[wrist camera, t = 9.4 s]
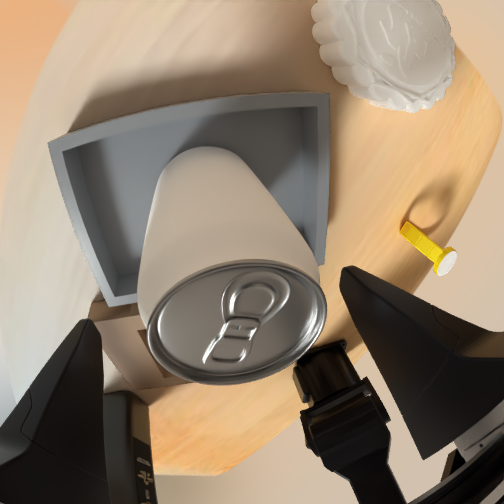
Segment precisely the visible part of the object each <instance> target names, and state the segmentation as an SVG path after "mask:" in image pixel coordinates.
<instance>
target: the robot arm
mask: <svg viewBox="0 0 504 504" xmlns="http://www.w3.org/2000/svg"><path fill="white" fill-rule="evenodd" d="M339 288H340V292H341V294H342V296H343V299H344V301H345V303H346V306H347V308H348V310H349V313H350V315H351V317H352V320H353V322H354V324H355V326H356V328H357V330H358V332H359V334H360V335H361V337H362V339H363V341H364V343H365V345H366V346H367V348H368V350H369V352H370V354H371V356H372V358H373V359H374V361H375V363H376V365H377V367H378V369H379V371H380V373H381V375H382V376H383V378H384V380H385V382H386V384H387V386H388V388H389V390H390V392H391V394H392V396H393V398H394V400H395V402H396V404H397V406H398V408H399V410H400V412H401V414H402V415H403V419H404V421H405V423H406V425H407V427H408V429H409V431H410V434H411V436H412V438H413V440H414V442H415V444H416V447H417V449H418V451H419V453H420V455H421V458H422V459H423V460H425V459H427V458H428V457H430V456H431V455H433V454H435V453H436V452H438V451H439V450H440V449H442V448H444V447H445V446H447V445H448V444H449V443H451V442H452V441H454V443H455V445H456V447H457V448H456V449H455V450H454V451H452V452H451V453H449V454H448V457H447V461H446V465H445V468H444V471H443V475H442V478H441V482H440V483H439V484H438V485H436V486H435V487H433V488H432V489H430V490H429V491H427V492H426V493H424V494H423V495H421V496H420V497H418V498H416V499H414V500H413V501H411V502H410V503H408V504H504V332H493V331H488V330H486V329H484V328H481V327H479V326H476V325H474V324H472V323H470V322H467V321H465V320H463V319H461V318H458V317H456V316H454V315H452V314H449V313H448V312H446V311H443V310H441V309H439V308H437V307H436V306H434V305H431V304H430V303H428V302H426V301H424V300H422V299H420V298H418V297H416V296H414V295H412V294H410V293H408V292H406V291H404V290H402V289H400V288H398V287H396V286H394V285H392V284H390V283H388V282H386V281H384V280H382V279H380V278H378V277H376V276H374V275H372V274H370V273H368V272H366V271H364V270H362V269H360V268H358V267H356V266H353V265H352V266H347V267H344V268H343V269H342V271H341V277H340V284H339ZM346 345H347V342H346V340H341V341H338V342H335V343H332V344H328V345H325V346H322V347H319V348H315V349H312V350H309V351H307V352H306V353H305V354H304V355H303V356H302V357H301V358H299V359H298V360H297V361H296V363H295V367H294V368H293V380H294V383H295V385H296V388H297V390H298V393H299V395H300V398H301V400H302V402H303V403H308V406H309V408H308V409H305V410H302V411H300V414H301V416H300V419H301V422H302V426H303V430H304V433H305V443H306V447H307V448H308V449H311V450H312V451H313V452H314V454H315V455H316V456H317V457H321V459H322V462H323V464H324V466H325V467H326V468H327V469H328V470H330V471H331V472H335V473H336V474H338V475H340V476H341V477H343V478H344V479H346V480H348V481H349V482H350V484H351V486H352V489H353V491H354V493H355V495H356V498H357V500H358V502H359V504H407V502H406V500H405V498H404V496H403V494H402V491H401V489H400V487H399V485H398V483H397V481H396V479H395V477H394V475H393V472H392V470H391V468H390V466H389V464H388V459H389V452H390V445H391V435H390V431H389V430H388V428H387V426H386V423H388V422H389V421H391V419H390V417H389V415H388V413H387V411H386V409H385V407H384V405H383V403H382V401H381V400H380V398H379V396H378V395H377V393H376V391H375V389H374V388H373V386H372V384H371V383H370V381H369V379H368V378H367V377H365V378H363V380H361V379H360V377H359V375H358V374H357V372H356V370H355V368H354V366H353V365H352V363H351V361H350V359H349V357H348V356H347V354H346V352H345V349H346ZM103 392H104V371H103V354H102V337H101V334H100V332H99V331H98V329H97V327H96V326H95V324H94V322H93V321H92V320H91V319H89V318H87V319H81V320H80V321H79V322H78V323H77V324H76V325H75V327H74V328H73V329H72V330H71V332H70V333H69V334H68V335H67V337H66V338H65V339H64V341H63V342H62V343H61V344H60V346H59V347H58V348H57V350H56V351H55V352H54V354H53V355H52V356H51V358H50V359H49V360H48V362H47V363H46V364H45V366H44V367H43V368H42V370H41V371H40V373H39V374H38V375H37V377H36V378H35V380H34V381H33V382H32V384H31V385H30V387H29V388H28V390H27V391H26V393H25V394H24V396H23V397H22V398H21V400H20V401H19V403H18V404H17V406H16V407H15V408H14V410H13V411H12V412H11V414H10V415H9V416H8V418H7V419H6V420H5V422H4V423H3V424H2V426H1V427H0V504H111V498H110V491H109V483H108V476H107V467H106V456H105V441H104V413H103ZM369 394H370V396H369ZM367 395H368V396H367ZM365 396H366V397H365Z"/></svg>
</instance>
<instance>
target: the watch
mask: <svg viewBox="0 0 504 504" xmlns="http://www.w3.org/2000/svg"><path fill="white" fill-rule="evenodd" d="M399 233H400V234H401V235H402V236H403V237H404V238H405V239H406V240H407V241H408V242H410V243H411V244H412V245H413V246H414V247H415V248H417V249H418V250H419V251H420V252H422V253H423V254H424V255H425V256H427V257H428V258H429V259H430V260H431V261H433V262H434V266H433V270H434V272H435V273H436V274H437V275H438V276H443V275H445V274H446V273H447V272H449V270H450V269H451V268H452V267H453V265H454V263H455V261H456V257H457V253H456V251H455V250H454V249H453V248H452V247H447V248H445V249H444V250H443V249H442V248H441V247H440V246H438V245H437V244H436V243H435V242H434V241H432V240H431V239H430V238H429V237H427V236H426V235H425V234H424V233H422V232H421V231H420V230H419V229H417V228H416V227H415V226H413V225H412V224H411V223H409V222H408V221H406V222H405V224H404V225H403V227H402V228H401V230H400V231H399Z"/></svg>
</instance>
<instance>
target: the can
mask: <svg viewBox="0 0 504 504" xmlns="http://www.w3.org/2000/svg"><path fill="white" fill-rule="evenodd" d="M137 301H138V309H139V313H140V316H141V319H142V321H143V323H144V325H145V327H146V329H147V342H148V345H149V348H150V351H151V353H152V354H153V356H154V357H155V359H156V360H157V361H158V362H159V364H160V365H162V366H163V367H164V368H165V369H166V370H168V371H169V372H171V373H172V374H174V375H176V376H178V377H180V378H182V379H185V380H188V381H191V382H195V383H200V384H206V385H236V384H243V383H248V382H252V381H256V380H259V379H262V378H265V377H268V376H270V375H273V374H275V373H277V372H279V371H281V370H283V369H285V368H286V367H288V366H290V365H291V364H293V363H294V362H296V361H297V360H298V359H299V358H301V357H302V356H303V355H304V354H305V353H306V352H307V351H308V350H309V349H310V348H311V347H312V346H313V345H314V343H315V342H316V340H317V339H318V337H319V336H320V334H321V332H322V330H323V328H324V325H325V322H326V317H327V302H326V298H325V295H324V293H323V291H322V289H321V287H320V275H319V269H318V265H317V262H316V259H315V257H314V255H313V253H312V251H311V249H310V248H309V246H308V244H307V243H306V241H305V240H304V238H303V237H302V235H301V234H300V233H299V231H298V230H297V229H296V227H295V226H294V224H293V223H292V222H291V220H290V219H289V218H288V216H287V215H286V214H285V212H284V211H283V210H282V208H281V207H280V206H279V204H278V203H277V202H276V201H275V199H274V198H273V197H272V195H271V194H270V193H269V192H268V190H267V189H266V188H265V186H264V185H263V184H262V183H261V181H260V180H259V179H258V178H257V176H256V175H255V174H254V173H253V171H252V170H251V169H250V168H249V167H248V165H247V164H246V163H245V162H244V161H243V160H242V159H241V158H240V157H239V156H237V155H236V154H235V153H233V152H231V151H229V150H226V149H223V148H218V147H210V146H203V147H196V148H192V149H189V150H187V151H184V152H182V153H181V154H179V155H177V156H176V157H175V158H173V159H172V160H171V161H170V162H169V163H168V164H167V166H166V167H165V168H164V170H163V171H162V173H161V175H160V177H159V179H158V182H157V186H156V189H155V193H154V197H153V201H152V206H151V210H150V214H149V219H148V224H147V229H146V234H145V239H144V245H143V251H142V256H141V263H140V270H139V277H138V287H137Z"/></svg>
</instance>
